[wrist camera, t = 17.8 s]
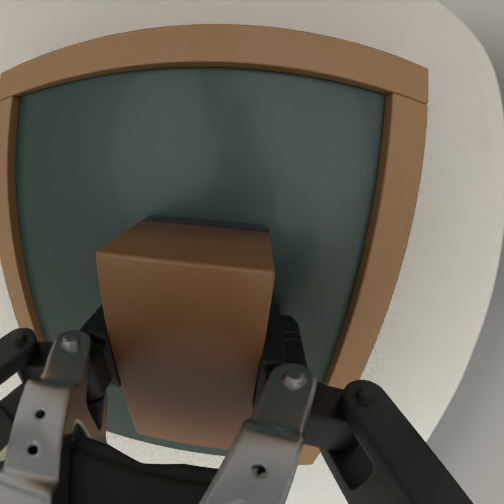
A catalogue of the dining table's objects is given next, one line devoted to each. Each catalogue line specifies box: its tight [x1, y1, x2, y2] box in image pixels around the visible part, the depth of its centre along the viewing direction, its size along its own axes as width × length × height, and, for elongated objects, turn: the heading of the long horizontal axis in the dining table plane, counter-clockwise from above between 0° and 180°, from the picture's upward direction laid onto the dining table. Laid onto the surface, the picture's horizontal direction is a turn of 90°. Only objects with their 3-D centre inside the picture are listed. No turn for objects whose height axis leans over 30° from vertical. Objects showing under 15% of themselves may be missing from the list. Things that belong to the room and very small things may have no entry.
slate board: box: [0, 24, 428, 465], centre depth 12 cm, size 24×19×2 cm
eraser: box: [96, 216, 275, 449], centre depth 9 cm, size 8×4×4 cm, turn 174°
